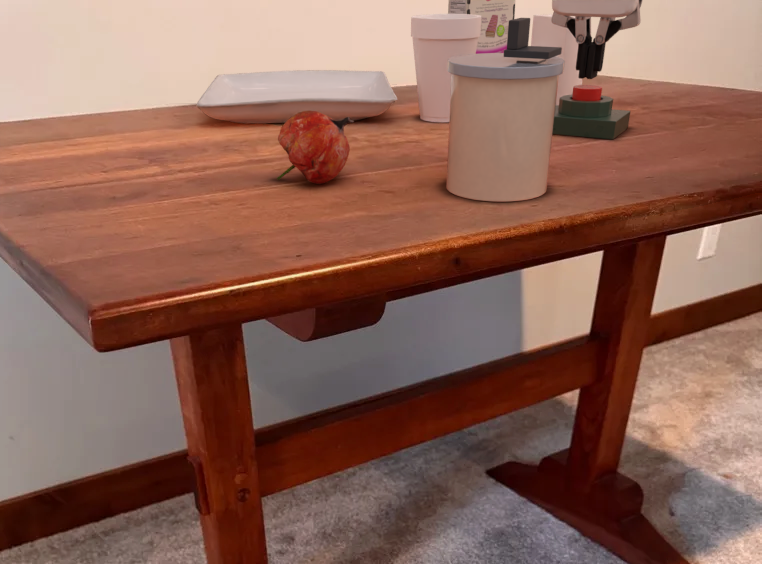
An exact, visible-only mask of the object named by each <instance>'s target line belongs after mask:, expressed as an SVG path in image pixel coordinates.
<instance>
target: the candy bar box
mask: <svg viewBox="0 0 762 564" xmlns="http://www.w3.org/2000/svg"><path fill="white" fill-rule="evenodd" d="M447 6H448V9H447V11H448V12H447V14H472V15H480V16H481V32H480V37H478V43H477V49H476V54H481V53H504V50H506V49H507V38H508V25H509V20H513V19H515V16H516V15H515V13H516V0H448V5H447Z"/></svg>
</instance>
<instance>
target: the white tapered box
mask: <svg viewBox="0 0 762 564" xmlns="http://www.w3.org/2000/svg"><path fill="white" fill-rule="evenodd" d="M552 16H553V13H548V14H547V13H546V14H545V13H543V14H533V16H532V18H533V19H532V29H531V39H530V46H541V47H561V48H562V51H561V54H560V55H557V56H555V57H559V58H562V59H563V60H564V61H565V64H564V72H563V73H562V74H560V75H559V79H558V88H557V97H556V105H559V100H560V97H562V96H564V95H572V93H573V87H574V86H576V85H583V79H584V78H583V79H581V78H579V77H578V76H579V70H576V61H577V53H578V43H577V42H576V39H575V37H574V36H573V35H572V33H571V32H570V31H569V29H568V28H565V27H562V26H559V25H556V24H553V23H552V21H551V19H552ZM572 17H573V18H575V16H572Z"/></svg>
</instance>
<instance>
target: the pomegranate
mask: <svg viewBox="0 0 762 564" xmlns="http://www.w3.org/2000/svg"><path fill="white" fill-rule="evenodd" d="M354 122H355V120H351V119H350V118H349V117H346V118H344V119H342V120H340V121H335V120H333V119H332V118H330V117H328V116H327V115H324V114H322V113H320V112H317V111H310V110H309V111H302V112H298V113H297V114H295V115H294V116H292V117H291V118H290V119H288V120H287V121H286V122H285V123H284V124H283V125H282V126H281V128H280V131H279V134H278V137H277V141H278V143H279V145H280V146H281V147H282V149H283V150H284V151H285V152H286V155H287V156H288V160H289V162H290V163H291V164H292V165H291V166H290V167H288V168H287V169H286V170H285V171H284V172H282V174H280V175H278V177H276V179H277V181H279V180H281V179H282V178H283V177H284V176H286V175H287V174H289V173H290V172H291V171H292V170H294V169H297V170H298V171H299V172H301V174H302V175H303V176H304V177H305V179H306V180H307V181H308V182H310V183H311V184H318V185H323V184H326V183H328V182H329V181H332V180H333V179H335V178H336V177H337V176H338V175H339V174H340V172H341V171H342V170H343V168H344V167H345V166H346V164H347V161H348V158H349V155H350V151H351V150H350V143H349V140H348V137H347V136H346V135H345V131H344V130H345V129H344V128H345V126H347V125H348V124H353V123H354Z"/></svg>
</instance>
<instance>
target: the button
mask: <svg viewBox="0 0 762 564" xmlns="http://www.w3.org/2000/svg"><path fill="white" fill-rule="evenodd" d="M602 93H603V87H602V86H601V85H596V84H582V85H576V86H574V87H573V93H572V99H573V100H579V101H598V100H601V95H602Z"/></svg>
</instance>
